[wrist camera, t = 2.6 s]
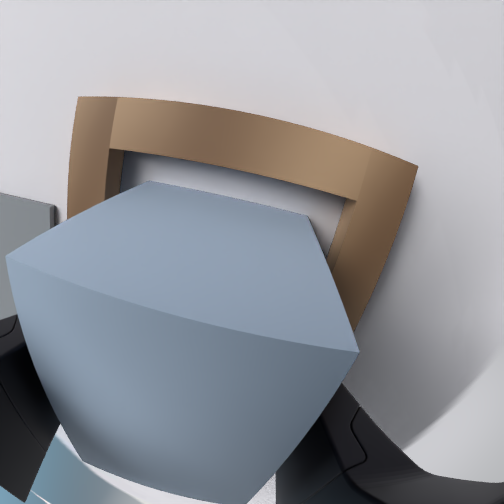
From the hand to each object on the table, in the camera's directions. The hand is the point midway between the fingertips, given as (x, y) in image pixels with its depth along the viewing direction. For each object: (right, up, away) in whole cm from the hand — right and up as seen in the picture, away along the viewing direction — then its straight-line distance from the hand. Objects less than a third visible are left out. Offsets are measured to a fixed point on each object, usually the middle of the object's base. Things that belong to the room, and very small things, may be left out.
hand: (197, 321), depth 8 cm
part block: (0, +1, +2) cm, 2 cm away
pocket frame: (0, +1, +1) cm, 2 cm away
